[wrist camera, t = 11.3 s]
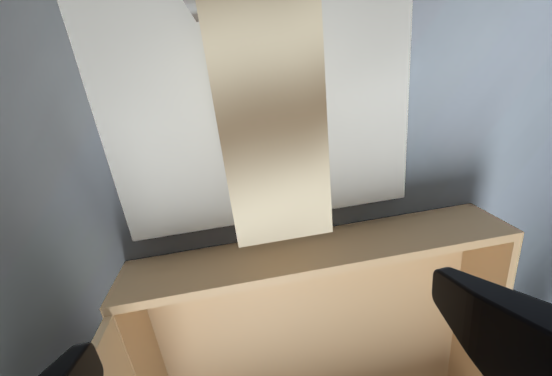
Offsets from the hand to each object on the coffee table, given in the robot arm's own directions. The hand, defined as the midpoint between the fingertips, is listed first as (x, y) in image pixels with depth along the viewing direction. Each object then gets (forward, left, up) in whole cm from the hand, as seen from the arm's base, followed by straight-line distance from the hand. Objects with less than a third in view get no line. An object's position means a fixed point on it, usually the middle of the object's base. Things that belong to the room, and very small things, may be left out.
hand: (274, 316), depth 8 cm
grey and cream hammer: (+1, +6, -10) cm, 12 cm away
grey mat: (+1, +6, -11) cm, 12 cm away
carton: (+3, -12, -11) cm, 16 cm away
